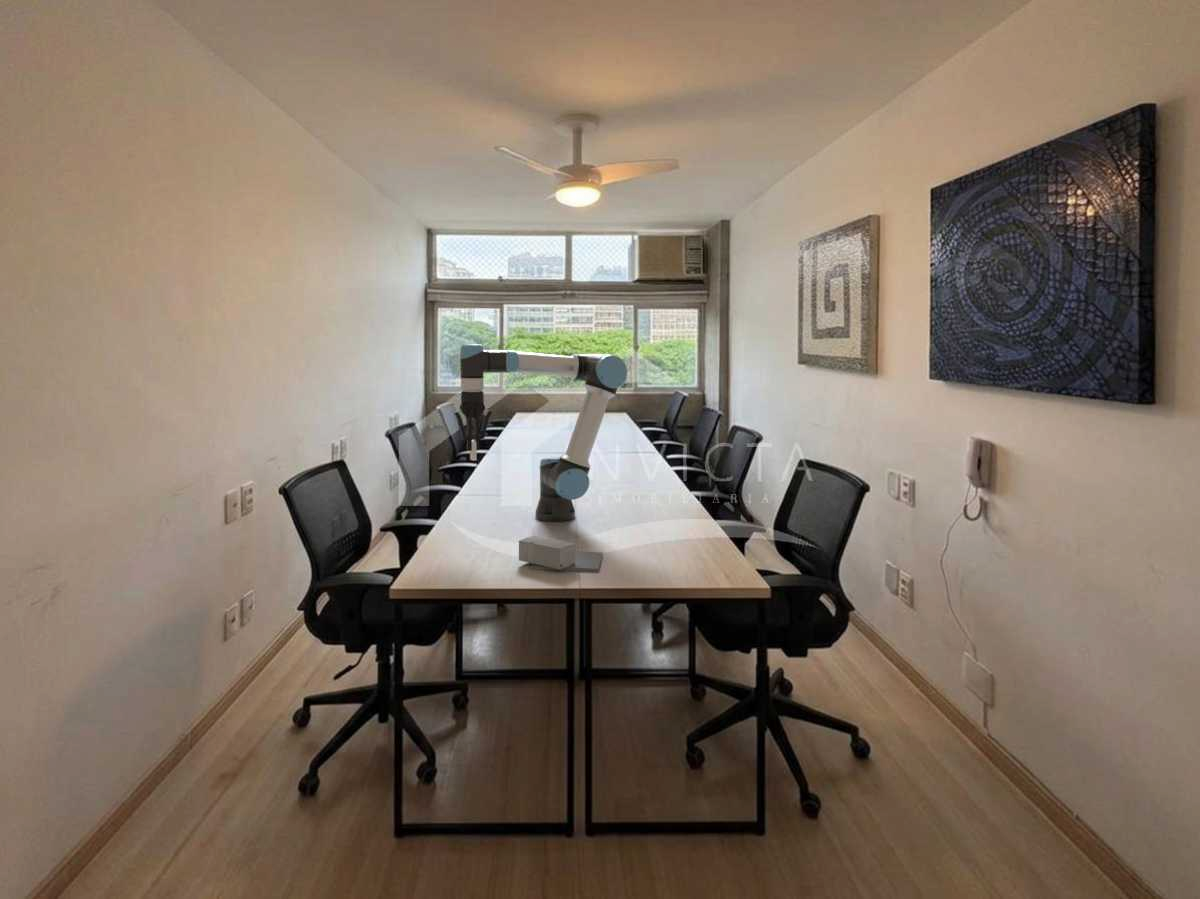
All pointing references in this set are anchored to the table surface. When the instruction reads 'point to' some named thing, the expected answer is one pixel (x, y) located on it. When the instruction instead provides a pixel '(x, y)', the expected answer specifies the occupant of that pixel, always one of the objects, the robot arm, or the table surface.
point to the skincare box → (547, 552)
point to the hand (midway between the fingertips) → (473, 459)
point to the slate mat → (579, 563)
